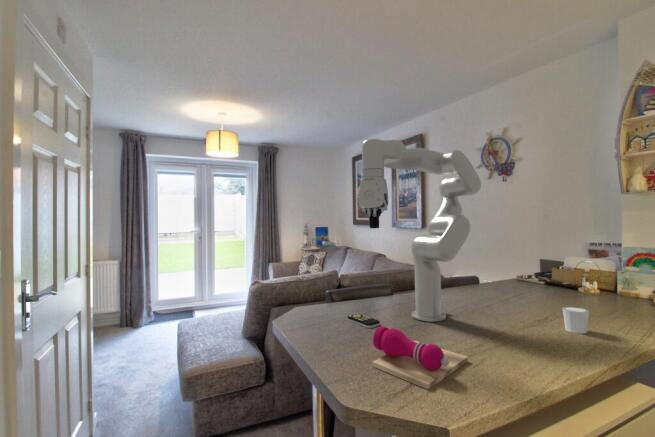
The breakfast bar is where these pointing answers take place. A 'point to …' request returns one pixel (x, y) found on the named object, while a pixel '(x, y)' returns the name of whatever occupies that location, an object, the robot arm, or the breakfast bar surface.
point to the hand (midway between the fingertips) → (374, 228)
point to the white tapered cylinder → (576, 319)
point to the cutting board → (419, 368)
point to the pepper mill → (408, 348)
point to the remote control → (363, 320)
